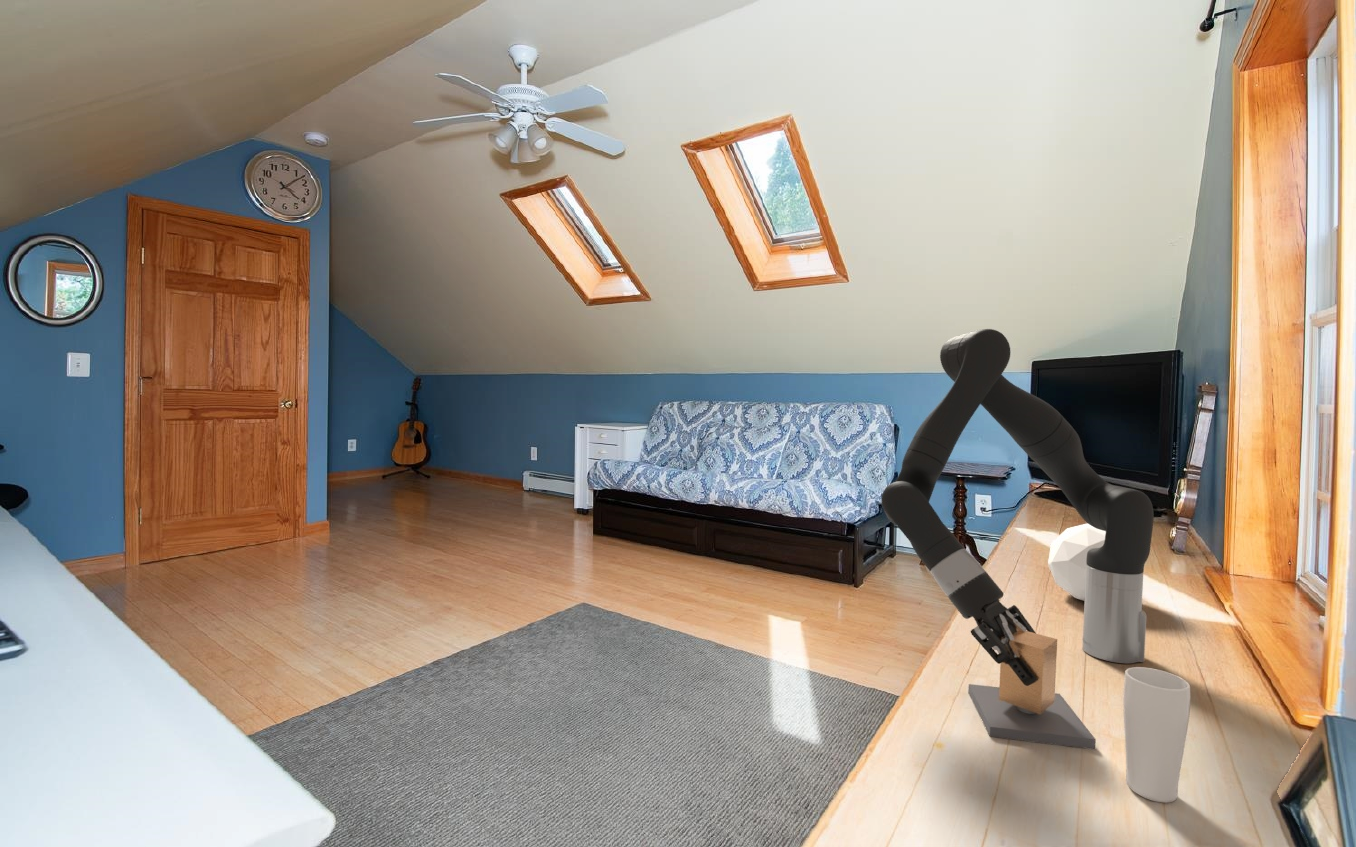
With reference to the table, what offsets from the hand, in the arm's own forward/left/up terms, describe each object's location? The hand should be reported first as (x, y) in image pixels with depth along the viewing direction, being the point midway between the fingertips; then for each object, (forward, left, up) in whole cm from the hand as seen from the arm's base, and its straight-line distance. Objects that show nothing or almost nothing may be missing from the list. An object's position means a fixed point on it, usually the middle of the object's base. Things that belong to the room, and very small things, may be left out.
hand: (1040, 676), depth 97 cm
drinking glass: (-9, +15, -8) cm, 19 cm away
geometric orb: (-33, -67, -8) cm, 75 cm away
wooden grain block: (+1, -1, -4) cm, 5 cm away
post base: (+1, -1, -7) cm, 8 cm away
